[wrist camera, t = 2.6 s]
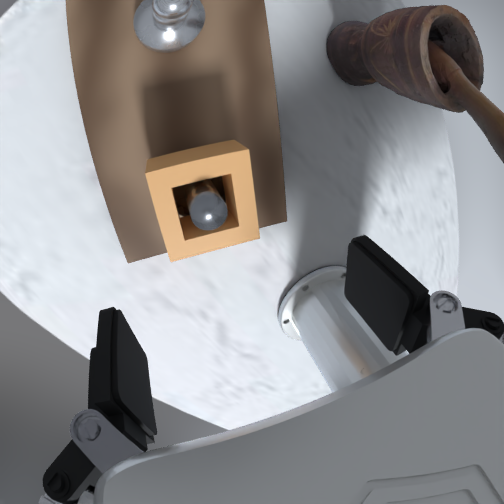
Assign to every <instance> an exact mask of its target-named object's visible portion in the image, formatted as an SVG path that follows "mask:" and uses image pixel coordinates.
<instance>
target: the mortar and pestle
mask: <svg viewBox="0 0 504 504" xmlns="http://www.w3.org/2000/svg"><path fill="white" fill-rule="evenodd" d="M327 52H328V57H329V60H330V62H331V64H332V66H333V68H334V69H335V71H336V73H337V74H338V75H339V76H340V77H341V79H342V80H344V81H345V82H347V83H349V84H351V85H354V86H364V85H368V84H373V83H375V82H378V83H380V84H381V85H383V86H385V87H387V88H388V89H391V90H393V91H394V92H396V93H397V94H399V95H402V96H405V97H407V98H409V99H412V100H414V101H417V102H420V103H424V104H429V105H432V106H435V107H438V108H441V109H445V110H449V111H452V112H458V113H459V112H463V111H465V110H466V111H467V112H468V113H469V115H471V117H472V118H473V119H474V121H475V122H476V123H477V125H478V126H479V127H480V128H481V130H482V131H483V132H484V134H485V136H486V137H487V139H488V141H489V142H490V144H491V146H492V147H493V149H494V150H495V152H496V153H497V154H498V156H499V157H500V159H501V160H502V161H503V163H504V113H503V112H502V111H501V110H499V108H497V107H496V106H495V105H494V104H493V103H492V102H491V101H490V100H489V99H488V98H487V97H486V96H485V95H484V94H483V93H482V92H480V88H481V85H482V84H483V72H484V67H483V55H482V51H481V48H480V45H479V41H478V38H477V36H476V34H475V31H474V30H473V28H472V26H471V24H470V22H469V20H468V19H467V18H466V16H465V15H464V14H462V13H460V12H459V11H458V10H456V9H454V8H452V7H450V6H447V5H438V6H421V7H408V8H403V9H397V10H394V11H391V12H388V13H385V14H383V15H381V16H379V17H378V18H376V19H374V20H373V21H371V22H370V23H369V24H367V23H363V22H358V21H348V22H344V23H342V24H340V25H338V26H337V27H336V28H335V29H334V30H333V31H332V32H331V34H330V36H329V38H328V42H327Z"/></svg>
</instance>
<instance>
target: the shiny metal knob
mask: <svg viewBox="0 0 504 504" xmlns="http://www.w3.org/2000/svg"><path fill="white" fill-rule="evenodd" d="M173 193H174V197H175V201H176V205H177V209H178V213H179V214H180V215H181V216H183V217H185V216H188V215H190V216H191V219H192V222H193V223H194V225H195V226H196V227H198V228H199V229H202V230H207V231H208V230H214V229H216V228H218V227H220V226H221V225H222V224H223V223H224V222H225V220H226V218H227V214H228V210H227V206H226V204H225V203H226V198H225V192H224V186H223V180H222V176H218V177H214V178H209V179H205V180H201V181H197V182H193V183H189V184H185V185H181V186H177V187H173Z"/></svg>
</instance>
